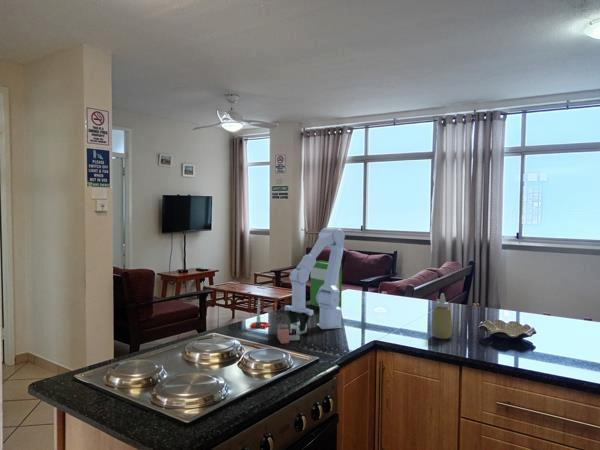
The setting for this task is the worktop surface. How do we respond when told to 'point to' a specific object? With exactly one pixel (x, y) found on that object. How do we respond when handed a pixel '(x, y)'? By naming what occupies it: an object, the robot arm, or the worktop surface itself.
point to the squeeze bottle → (442, 319)
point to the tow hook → (258, 323)
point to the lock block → (297, 328)
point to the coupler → (285, 334)
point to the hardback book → (322, 281)
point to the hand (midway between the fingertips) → (298, 329)
